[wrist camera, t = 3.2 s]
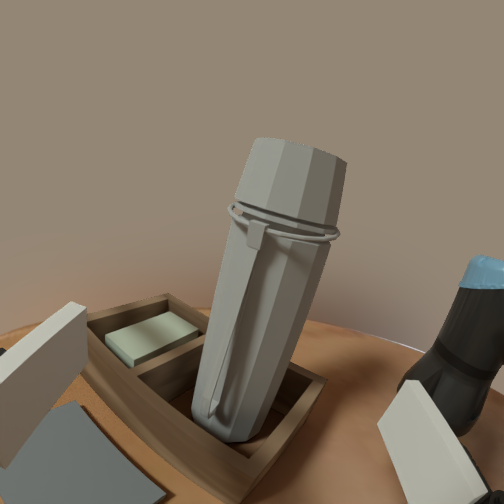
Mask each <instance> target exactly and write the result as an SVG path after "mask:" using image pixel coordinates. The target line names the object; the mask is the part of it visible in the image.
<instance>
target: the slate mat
mask: <svg viewBox="0 0 504 504" xmlns="http://www.w3.org/2000/svg"><path fill="white" fill-rule="evenodd" d="M0 496H1V497H2V499H3V501H4V503H5V504H157V503H159V502H160V501H161V500H163V499H164V498H165V497H166V493H165V492H164V491H163V490H161V489H160V488H159V487H158V486H157V485H155V484H154V483H153V482H152V481H151V480H150V479H148V478H147V477H146V476H145V475H144V474H143V473H142V472H141V471H139V470H138V469H137V468H136V467H135V466H134V465H133V464H132V463H131V462H130V461H129V460H128V459H127V458H126V457H125V456H124V455H123V454H122V453H121V452H120V451H119V450H118V449H117V448H116V447H115V446H114V445H113V444H112V443H111V442H110V441H109V440H108V439H107V437H106V436H105V435H104V434H103V433H102V432H101V431H100V430H99V428H98V427H97V426H96V425H95V424H94V423H93V422H92V420H91V419H90V418H89V417H88V415H87V414H86V413H85V412H84V411H83V409H82V408H81V407H80V405H79V404H78V403H77V402H76V400H75V401H72V402H70V403H67V404H65V405H62V406H60V407H57V408H54V409H52V410H50V411H49V412H48V413H47V414H46V416H45V417H44V418H43V420H42V421H41V422H40V424H39V425H38V426H37V427H36V429H35V430H34V431H33V433H32V434H31V435H30V437H29V438H28V440H27V441H26V442H25V444H24V445H23V446H22V448H21V449H20V450H19V452H18V453H17V455H16V456H15V457H14V459H13V460H12V462H11V463H10V465H9V466H8V467H7V469H6V470H5V469H3V468H2V467H1V466H0Z"/></svg>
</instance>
